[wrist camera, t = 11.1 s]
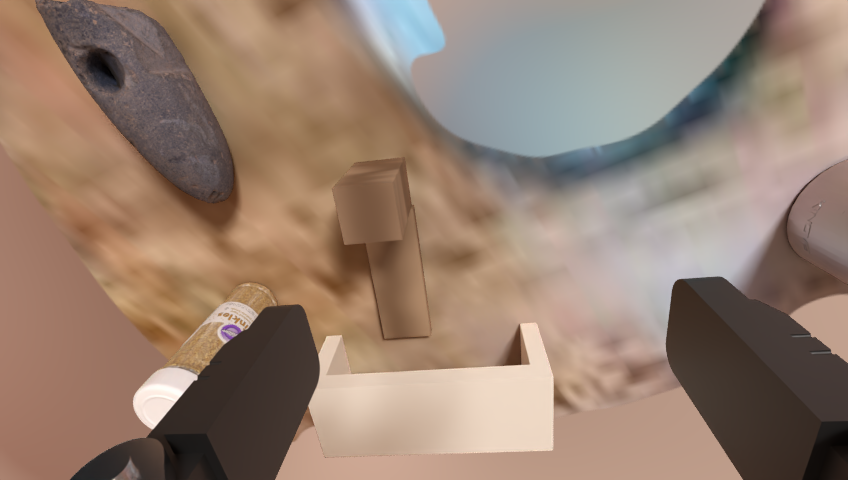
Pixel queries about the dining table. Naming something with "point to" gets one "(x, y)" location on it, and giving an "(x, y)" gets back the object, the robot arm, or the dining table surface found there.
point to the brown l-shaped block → (386, 241)
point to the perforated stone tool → (145, 92)
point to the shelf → (434, 406)
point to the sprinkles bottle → (200, 351)
